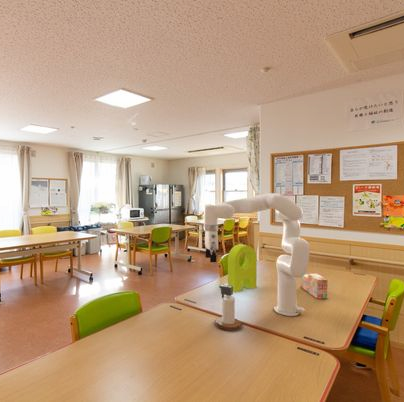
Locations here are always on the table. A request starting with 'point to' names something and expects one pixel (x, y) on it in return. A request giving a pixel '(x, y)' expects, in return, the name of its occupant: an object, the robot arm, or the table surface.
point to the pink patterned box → (315, 285)
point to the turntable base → (228, 328)
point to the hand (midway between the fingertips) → (210, 259)
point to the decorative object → (242, 268)
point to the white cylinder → (228, 308)
